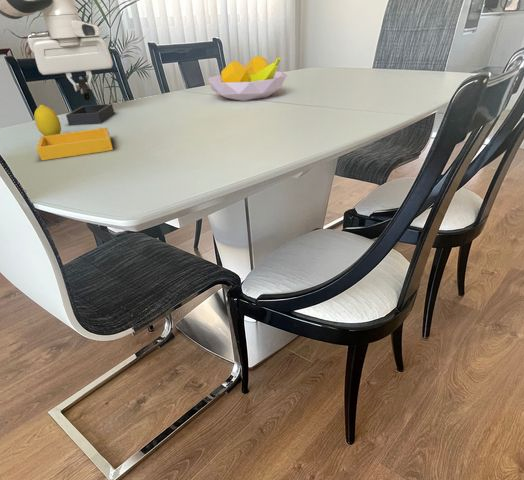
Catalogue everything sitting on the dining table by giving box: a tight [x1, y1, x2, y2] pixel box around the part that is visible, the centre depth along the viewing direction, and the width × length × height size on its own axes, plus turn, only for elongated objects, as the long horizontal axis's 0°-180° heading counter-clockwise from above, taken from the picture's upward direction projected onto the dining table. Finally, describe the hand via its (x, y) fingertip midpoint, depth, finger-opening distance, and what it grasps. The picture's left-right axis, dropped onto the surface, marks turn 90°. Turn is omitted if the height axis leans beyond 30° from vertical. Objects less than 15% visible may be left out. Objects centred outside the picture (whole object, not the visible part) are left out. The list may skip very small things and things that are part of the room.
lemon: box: [33, 104, 62, 136], centre depth 97 cm, size 6×6×8 cm
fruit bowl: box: [208, 55, 288, 102], centre depth 128 cm, size 28×27×11 cm
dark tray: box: [65, 103, 116, 126], centre depth 117 cm, size 14×10×3 cm
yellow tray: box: [36, 127, 114, 161], centre depth 91 cm, size 16×12×3 cm
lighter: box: [78, 75, 91, 101], centre depth 113 cm, size 8×2×5 cm
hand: (84, 90), depth 113 cm, fingers closed on lighter, 2 cm apart
